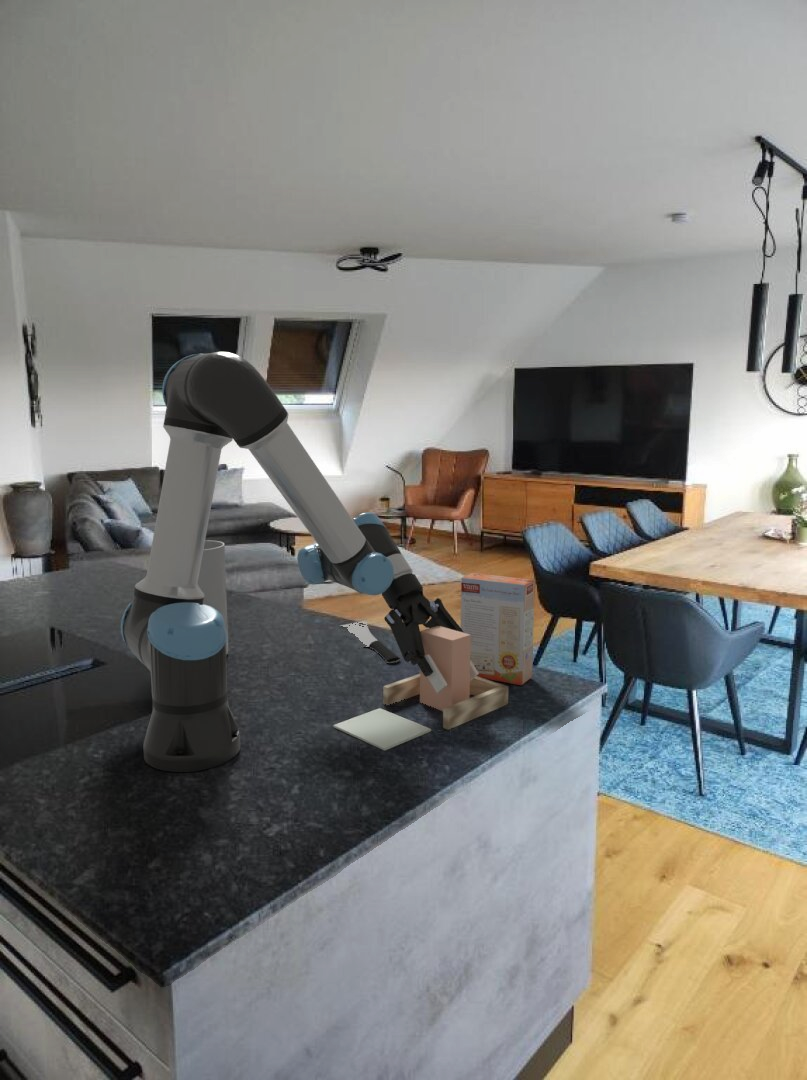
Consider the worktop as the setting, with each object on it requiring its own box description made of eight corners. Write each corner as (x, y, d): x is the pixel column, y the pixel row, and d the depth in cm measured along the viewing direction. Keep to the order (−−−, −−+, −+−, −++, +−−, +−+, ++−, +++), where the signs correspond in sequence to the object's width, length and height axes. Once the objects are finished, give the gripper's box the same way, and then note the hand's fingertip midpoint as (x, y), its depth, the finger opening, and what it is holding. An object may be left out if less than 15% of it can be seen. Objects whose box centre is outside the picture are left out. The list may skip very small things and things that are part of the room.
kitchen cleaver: (326, 625, 198) (364, 617, 201) (327, 632, 198) (365, 623, 201) (362, 665, 169) (406, 655, 172) (363, 672, 169) (407, 662, 173)
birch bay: (448, 729, 137) (448, 710, 137) (383, 703, 149) (383, 686, 148) (507, 704, 149) (508, 686, 148) (443, 682, 160) (443, 665, 160)
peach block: (451, 714, 144) (452, 640, 142) (419, 702, 150) (420, 631, 147) (469, 707, 148) (470, 634, 145) (437, 695, 153) (438, 625, 151)
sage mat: (384, 750, 129) (384, 748, 129) (333, 727, 138) (333, 725, 138) (431, 731, 137) (431, 728, 137) (379, 710, 146) (379, 708, 146)
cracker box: (533, 678, 163) (536, 578, 159) (521, 687, 158) (525, 584, 154) (471, 666, 170) (473, 570, 166) (458, 674, 165) (460, 576, 161)
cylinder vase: (185, 669, 167) (179, 553, 163) (161, 654, 177) (155, 544, 172) (238, 657, 175) (234, 546, 171) (212, 643, 185) (208, 538, 180)
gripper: (424, 585, 163) (483, 679, 155) (347, 603, 149) (407, 708, 141) (443, 563, 159) (505, 659, 150) (366, 580, 144) (430, 687, 136)
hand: (458, 683), depth 145 cm, fingers open, 8 cm apart
